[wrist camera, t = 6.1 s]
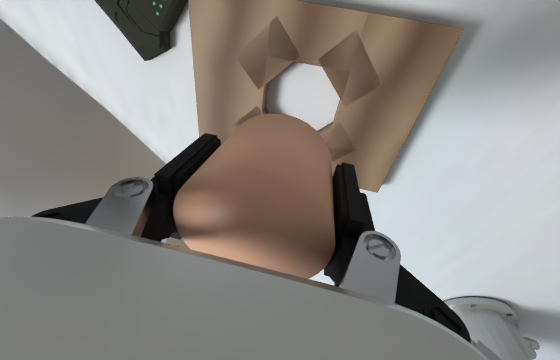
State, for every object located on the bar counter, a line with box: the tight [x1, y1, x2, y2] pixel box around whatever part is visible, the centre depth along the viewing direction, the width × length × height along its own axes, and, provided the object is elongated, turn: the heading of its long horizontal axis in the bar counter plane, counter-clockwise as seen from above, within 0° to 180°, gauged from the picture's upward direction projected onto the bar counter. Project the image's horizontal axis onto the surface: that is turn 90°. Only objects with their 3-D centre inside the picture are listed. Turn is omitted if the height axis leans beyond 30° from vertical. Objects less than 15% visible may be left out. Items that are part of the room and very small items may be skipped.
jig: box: [188, 0, 463, 193], centre depth 22 cm, size 22×16×2 cm
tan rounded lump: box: [173, 114, 335, 279], centre depth 10 cm, size 6×6×5 cm
